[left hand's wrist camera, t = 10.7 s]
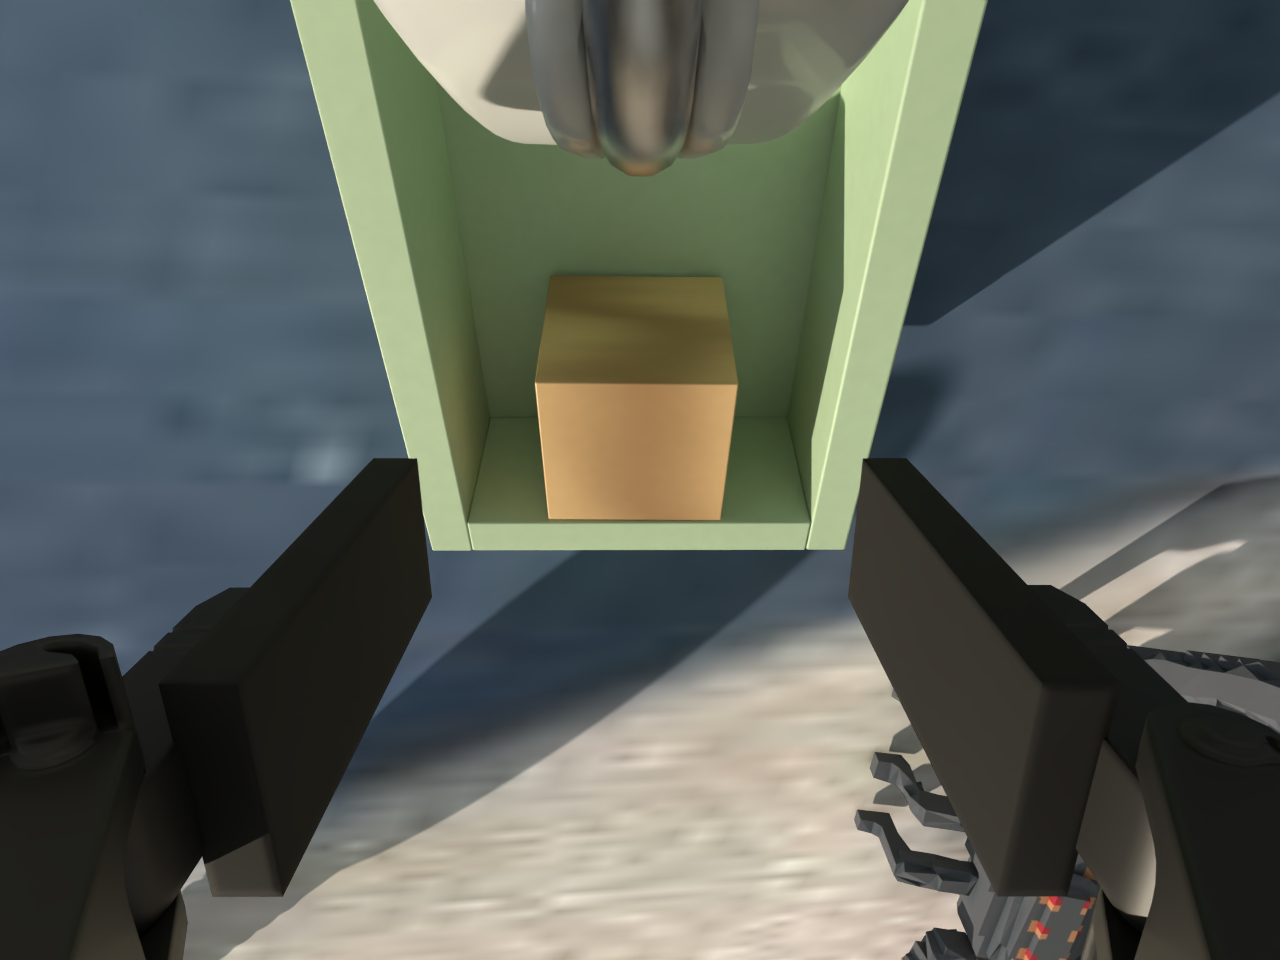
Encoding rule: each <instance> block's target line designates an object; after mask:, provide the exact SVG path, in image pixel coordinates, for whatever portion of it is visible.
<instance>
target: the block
mask: <svg viewBox="0 0 1280 960" xmlns="http://www.w3.org/2000/svg"><path fill="white" fill-rule="evenodd" d="M738 385H739V384H738V377H737V371H736V364H735V357H734V351H733V344H732V337H731V331H730V324H729V317H728V311H727V304H726V297H725V291H724V284H723V278H722V277H643V276H550V280H549V287H548V294H547V301H546V308H545V315H544V322H543V329H542V336H541V343H540V350H539V357H538V364H537V371H536V378H535V390H536V400H537V410H538V420H539V430H540V440H541V450H542V459H543V469H544V479H545V489H546V499H547V509H548V518H549V519H631V520H721V516H722V508H723V500H724V493H725V485H726V477H727V470H728V462H729V454H730V447H731V439H732V431H733V423H734V416H735V408H736V400H737V393H738Z"/></svg>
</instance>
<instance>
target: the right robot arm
mask: <svg viewBox="0 0 1280 960" xmlns="http://www.w3.org/2000/svg"><path fill="white" fill-rule="evenodd" d="M908 1H909V0H374V2H375V3H376V5H377V6H378V8H379V9H380V10H381V12H382V13H383V15H384V16H385V18H386V19H387V20H388V22H389V23H390V24H391V25H392V27H393V28H394V29H395V31H396V32H397V33H398V34H399V36H400V37H401V38H402V40H403V41H404V42H405V43H406V45H407V46H408V47H409V49H410V50H411V51H412V52H413V54H414V55H415V56H416V58H417V59H418V60H419V61H420V62H421V64H422V65H423V66H424V67H425V68H426V69H427V70H428V71H429V72H430V74H431V75H432V76H433V77H434V78H435V79H436V80H437V81H438V83H439V84H440V85H441V86H442V87H443V88H444V89H445V90H446V91H447V93H448V94H449V95H450V96H451V97H452V98H453V99H454V100H455V101H456V102H457V103H458V104H459V105H460V106H461V107H462V108H463V109H464V110H465V111H466V112H467V113H468V114H469V115H471V116H472V117H473V118H474V119H475V120H477V121H478V122H479V123H480V124H481V125H483V126H484V127H485V128H487V129H488V130H490V131H491V132H492V133H494V134H495V135H498V136H500V137H502V138H504V139H507V140H510V141H512V142H518V143H524V144H548V145H558V146H559V148H560V149H562V150H564V151H566V152H568V153H571V154H574V155H577V156H580V157H583V158H586V159H604V157H606V158H607V159H608V161H609V162H610V164H611V165H612V166H614V167H615V168H617V169H618V170H620V171H622V172H623V173H625V174H627V175H628V176H636V177H649V176H653V175H655V174H657V173H659V172H661V171H663V170H664V169H666V168H668V167H670V166H672V164H673V163H674V161H675V160H676V158H677V157H678V158H679V159H696V158H700V157H703V156H706V155H709V154H712V153H715V152H717V151H719V150H721V149H723V148H724V147H725V145H733V144H758V143H764V142H769V141H772V140H775V139H777V138H780V137H782V136H784V135H787V134H788V133H790V132H791V131H792V130H794V129H795V128H797V127H798V126H800V125H801V124H802V123H803V122H804V121H805V120H807V119H808V118H809V117H810V116H811V115H813V114H814V113H815V112H816V111H817V110H818V109H819V108H820V107H821V106H822V105H823V104H824V103H825V102H826V101H827V100H828V99H829V98H830V97H831V96H832V95H833V94H834V93H835V92H836V91H837V90H838V88H839V87H840V86H841V85H842V84H843V83H844V82H845V81H846V80H847V78H848V77H849V76H850V75H851V74H852V73H853V72H854V71H855V70H856V68H857V67H858V66H859V65H860V64H861V63H862V62H863V61H864V59H865V58H866V57H867V56H868V54H869V53H870V52H871V51H872V49H873V48H874V47H875V45H876V44H877V43H878V42H879V40H880V39H881V38H882V36H883V35H884V34H885V33H886V31H887V30H888V29H889V27H890V26H891V25H892V24H893V22H894V21H895V20H896V19H897V17H898V16H899V14H900V13H901V11H902V10H903V9H904V7H905V6H906V4H907V3H908Z"/></svg>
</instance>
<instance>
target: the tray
mask: <svg viewBox="0 0 1280 960" xmlns="http://www.w3.org/2000/svg"><path fill="white" fill-rule="evenodd" d="M290 1H291V5H292V9H293V13H294V17H295V21H296V25H297V28H298V32H299V36H300V40H301V44H302V48H303V52H304V55H305V59H306V63H307V67H308V71H309V75H310V79H311V82H312V86H313V90H314V94H315V98H316V102H317V106H318V109H319V113H320V117H321V121H322V125H323V129H324V133H325V136H326V140H327V144H328V148H329V152H330V156H331V160H332V163H333V167H334V171H335V175H336V179H337V183H338V187H339V190H340V194H341V198H342V202H343V206H344V210H345V214H346V217H347V221H348V225H349V229H350V233H351V237H352V241H353V245H354V248H355V252H356V256H357V260H358V264H359V268H360V272H361V275H362V279H363V283H364V287H365V291H366V295H367V299H368V302H369V306H370V310H371V314H372V318H373V322H374V326H375V329H376V333H377V337H378V341H379V345H380V349H381V353H382V356H383V360H384V364H385V368H386V372H387V376H388V380H389V383H390V387H391V391H392V395H393V399H394V403H395V407H396V410H397V414H398V418H399V422H400V426H401V430H402V434H403V437H404V441H405V445H406V449H407V453H408V457H409V458H417V461H418V470H419V480H420V489H421V499H422V508H423V515H424V519H425V522H426V526H427V530H428V534H429V538H430V542H431V546H432V549H433V550H472V548H473V550H804V549H805V548H807V549H845V547H846V543H847V539H848V535H849V531H850V527H851V524H852V520H853V516H854V512H855V508H856V504H857V501H858V497H859V489H860V480H861V470H862V461H863V458H869V455H870V451H871V447H872V443H873V439H874V435H875V432H876V428H877V424H878V420H879V416H880V412H881V409H882V405H883V401H884V397H885V393H886V389H887V386H888V382H889V378H890V374H891V370H892V367H893V363H894V359H895V355H896V351H897V347H898V344H899V340H900V336H901V332H902V328H903V324H904V321H905V317H906V313H907V309H908V305H909V301H910V298H911V294H912V290H913V286H914V282H915V278H916V275H917V271H918V267H919V263H920V259H921V255H922V252H923V248H924V244H925V240H926V236H927V232H928V229H929V225H930V221H931V217H932V213H933V209H934V206H935V202H936V198H937V194H938V190H939V186H940V183H941V179H942V175H943V171H944V167H945V163H946V160H947V156H948V152H949V148H950V144H951V140H952V137H953V133H954V129H955V125H956V121H957V117H958V114H959V110H960V106H961V102H962V98H963V94H964V91H965V87H966V83H967V79H968V75H969V71H970V68H971V64H972V60H973V56H974V52H975V48H976V45H977V41H978V37H979V33H980V29H981V25H982V22H983V18H984V14H985V10H986V6H987V2H988V0H909V1H908V3H907V4H906V6H905V7H904V9H903V10H902V11H901V13H900V14H899V16H898V17H897V19H896V20H895V21H894V22H893V24H892V25H891V26H890V27H889V29H888V30H887V31H886V33H885V34H884V35H883V36H882V38H881V39H880V40H879V42H878V43H877V44H876V45H875V47H874V48H873V49H872V51H871V52H870V53H869V54H868V56H867V57H866V58H865V59H864V61H863V62H862V63H861V64H860V65H859V66H858V67H857V68H856V70H855V71H854V72H853V73H852V74H851V75H850V76H849V77H848V78H847V80H846V81H845V82H844V83H843V84H842V85H841V86H840V87H839V88H838V90H837V91H836V92H835V93H834V94H833V95H832V96H831V97H830V98H829V99H828V100H827V101H826V102H825V103H824V104H823V105H822V106H821V107H820V108H819V109H818V110H817V111H816V112H815V113H814V114H813V115H811V116H810V117H809V118H808V119H807V120H805V121H804V122H803V123H802V124H801V125H800V126H798V127H797V128H795V129H794V130H792V131H791V132H790V133H788V134H787V135H784V136H782V137H780V138H777V139H775V140H772V141H769V142H764V143H758V144H733V145H725V147H724V148H723V149H721V150H719V151H717V152H715V153H712V154H709V155H706V156H703V157H700V158H696V159H679V158H678V157H677V158H676V160H675V161H674V163H673V164H672V166H670V167H668V168H666V169H664V170H663V171H661V172H659V173H657V174H655V175H653V176H649V177H636V176H628V175H627V174H625V173H623V172H622V171H620V170H618V169H617V168H615V167H614V166H612V165H611V164H610V162H609V161H608V159H607V158H606V157H604V159H586V158H583V157H580V156H577V155H574V154H571V153H568V152H566V151H564V150H562V149H560V148H559V146H558V145H548V144H524V143H518V142H512V141H510V140H507V139H504V138H502V137H500V136H498V135H495V134H494V133H492V132H491V131H490V130H488V129H487V128H485V127H484V126H483V125H481V124H480V123H479V122H478V121H477V120H475V119H474V118H473V117H472V116H471V115H469V114H468V113H467V112H466V111H465V110H464V109H463V108H462V107H461V106H460V105H459V104H458V103H457V102H456V101H455V100H454V99H453V98H452V97H451V96H450V95H449V94H448V93H447V91H446V90H445V89H444V88H443V87H442V86H441V85H440V84H439V83H438V81H437V80H436V79H435V78H434V77H433V76H432V75H431V74H430V72H429V71H428V70H427V69H426V68H425V67H424V66H423V65H422V64H421V62H420V61H419V60H418V59H417V58H416V56H415V55H414V54H413V52H412V51H411V50H410V49H409V47H408V46H407V45H406V43H405V42H404V41H403V40H402V38H401V37H400V36H399V34H398V33H397V32H396V31H395V29H394V28H393V27H392V25H391V24H390V23H389V22H388V20H387V19H386V18H385V16H384V15H383V13H382V12H381V10H380V9H379V8H378V6H377V5H376V3H375V2H374V0H290ZM550 276H643V277H722V278H723V284H724V291H725V297H726V304H727V311H728V317H729V324H730V331H731V337H732V344H733V351H734V357H735V364H736V371H737V377H738V384H739V385H738V393H737V400H736V408H735V416H734V423H733V431H732V439H731V447H730V454H729V462H728V470H727V477H726V485H725V493H724V500H723V508H722V516H721V520H631V519H549V518H548V509H547V499H546V489H545V479H544V469H543V459H542V450H541V440H540V430H539V420H538V410H537V400H536V390H535V378H536V371H537V364H538V357H539V350H540V343H541V336H542V329H543V322H544V315H545V308H546V301H547V294H548V287H549V280H550Z"/></svg>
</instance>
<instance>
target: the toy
mask: <svg viewBox="0 0 1280 960" xmlns="http://www.w3.org/2000/svg"><path fill="white" fill-rule="evenodd" d="M1127 648H1132V649H1133V650H1134V651H1135V652H1136V653H1137V654H1138V655H1139V656H1140V657H1141V658H1142V659H1144V660H1145V661H1146V662H1147V663H1148V664H1149V665H1150V666H1151V667H1152V668H1153V669H1154V670H1155V671H1156V672H1157V673H1158V674H1159V675H1160V676H1161V677H1162V678H1163V679H1165V680H1166V681H1167V682H1168V683H1169V684H1170V685H1171V686H1172V687H1173V688H1174V689H1175V690H1176V691H1177V692H1178V693H1179V694H1180V695H1181V696H1182V697H1183V698H1184V699H1185V700H1187V701H1188V702H1191V703H1200V704H1209V705H1213V706H1216V707H1220V708H1223V709H1227V710H1230V711H1234V712H1237V713H1240V714H1243V715H1245V716H1247V717H1249V718H1251V719H1253V720H1256V721H1258V722H1260V723H1262V724H1264V725H1266V726H1269V727H1270V728H1272V729H1273V730H1275V731H1276V732H1278V733H1279V734H1280V663H1278V662H1272V661H1264V660H1260V659H1252V658H1244V657H1236V656H1228V655H1220V654H1212V653H1204V652H1196V651H1188V650H1187V652H1186V653H1183V652H1176V651H1168V650H1160V649H1153V648H1145V647H1137V646H1129V645H1127ZM892 697H894V698H895V699H897V700H898V701H900V700H899V698H898V696H897V694H896V692H895V690H893V693H892ZM870 770H871V772H872V775H873V777H874V778H877V779H880V780H883V781H886V782H889V783H892V784H895V785H896V786H897V787H898V788H899V789H900V790H901V792H902V793H903V794H904V796H905V798H906V800H907V802H908V804H909V808H910V810H911V812H912V813H913V814H914V815H915V817H916V818H917V819H918V820H919V821H920V822H921V824H922V825H923V826H927V827H934V828H941V829H948V830H955V831H962V832H965V831H964V829H963V827H962V825H961V823H960V821H959V819H958V817H957V815H956V813H955V811H954V809H953V807H952V805H951V803H950V801H949V799H948V797H947V796H942V795H937V794H933V793H929V792H925V791H924V789H923V786H922V783H921V782H916V780H915V777H914V775H913V772H912V770H911V767H910V765H909V764H908V763H907V761H906V760H905V759H904V758H903V757H902V756H901V755H896V754H888V753H879V752H875V753H874V756H873V759H872V763H871V766H870ZM854 820H855V823H856V826H857V829H858V830H861V831H865V832H868V833H872V834H874V835H876V836H878V837H879V839H880V841H881V844H882V846H883V849H884V852H885V854H886V857H887V859H888V862H889V864H890V867H891V869H892V872H893V874H894V876H895V878H896V879H897V881H900V882H903V883H907V884H911V885H915V886H919V887H924V888H929V889H934V890H937V891H941V892H949V893H955V894H960V897H959V899H958V902H957V909H958V915H959V917H960V920H961V922H962V924H963V927H964V929H965V931H966V933H965V932H959V931H957V929H952V930H946V929H940V928H934V929H933V930H932V931H928V932H926V935H925V936H924V938H923V939H922V941H921V942H920V941H915V943H914V945H913V947H912V948H911V950H910V952H909V953H907V954H906V955H905V956H904V957H903V958H901V960H1081V956H1082V952H1083V948H1084V945H1085V941H1086V937H1087V934H1088V930H1089V927H1090V923H1091V919H1092V916H1093V912H1094V908H1095V905H1096V901H1097V897H1098V894H1099V890H1100V885H1099V884H1098V882H1097V881H1096V879H1095V878H1094V876H1093V875H1092V873H1091V871H1090V870H1089V868H1088V867H1087V865H1086V864H1085V862H1084V861H1083V859H1082V858H1081V856H1080V855H1079V853H1078V857H1077V861H1076V864H1075V868H1074V872H1073V876H1072V880H1071V884H1070V888H1069V892H1068V896H1067V897H997V895H996V893H995V891H994V889H993V887H992V885H991V883H990V881H989V879H988V877H987V875H986V873H985V871H984V869H983V867H982V865H981V863H980V861H979V859H978V857H977V855H976V853H975V851H974V849H973V847H972V845H971V843H970V841H969V839H968V838H967V841H966V843H965V846H966V848H967V850H968V852H969V854H970V858H969V860H968V862H967V861H959V860H955V859H951V858H947V857H943V856H939V855H935V854H930V853H924V852H918V851H912V850H910V849H909V847H908V846H907V845H906V843H905V842H904V841H903V839H902V838H901V837H900V835H899V834H898V832H897V830H896V828H895V825H894V823H893V821H892V819H891V816H890V814H889V813H883V812H874V811H865V810H857V812H856V816H855V819H854ZM966 934H967V935H966Z"/></svg>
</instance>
